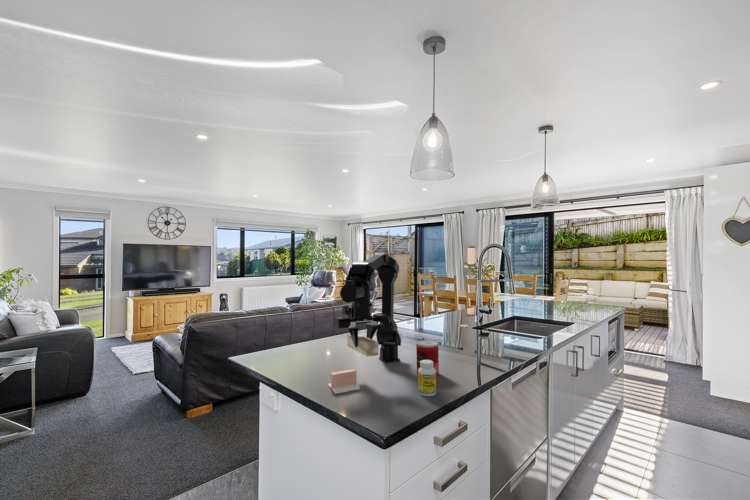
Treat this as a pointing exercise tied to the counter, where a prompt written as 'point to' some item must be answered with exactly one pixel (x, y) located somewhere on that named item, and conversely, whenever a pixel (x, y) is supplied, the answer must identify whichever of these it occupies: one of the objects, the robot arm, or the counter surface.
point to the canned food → (428, 353)
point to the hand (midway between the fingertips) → (361, 346)
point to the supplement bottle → (426, 378)
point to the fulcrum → (343, 381)
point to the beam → (364, 345)
